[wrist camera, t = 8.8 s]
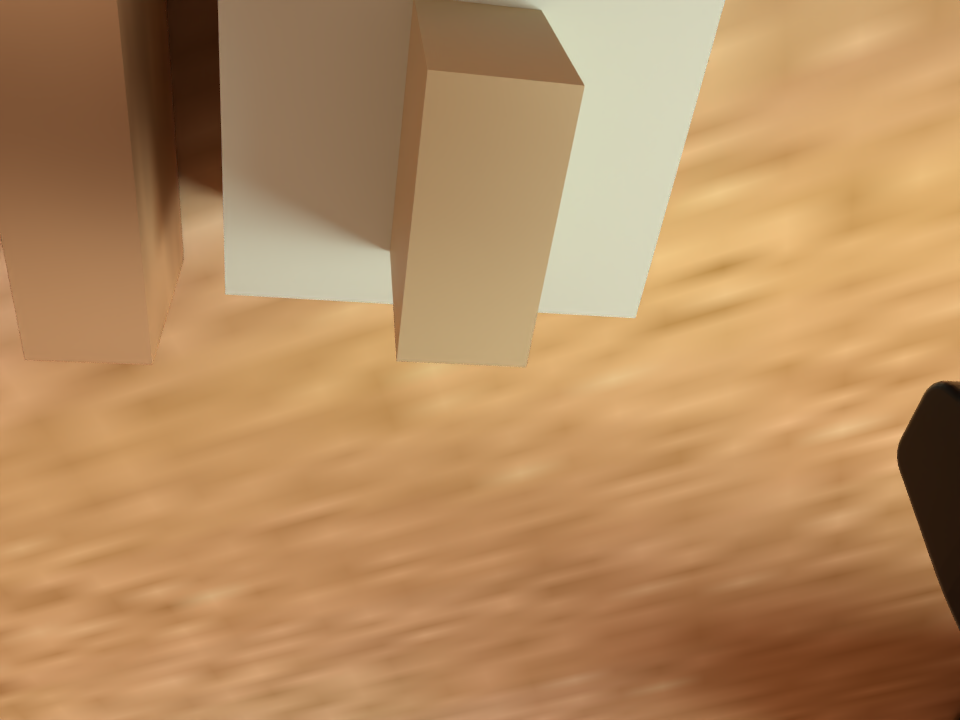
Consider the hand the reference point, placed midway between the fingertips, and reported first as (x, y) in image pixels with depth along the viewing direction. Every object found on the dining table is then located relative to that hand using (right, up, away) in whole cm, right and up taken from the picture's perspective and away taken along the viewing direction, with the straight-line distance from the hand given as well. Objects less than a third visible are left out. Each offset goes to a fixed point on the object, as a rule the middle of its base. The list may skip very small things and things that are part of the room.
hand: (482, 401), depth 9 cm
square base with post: (-1, +6, +8) cm, 10 cm away
